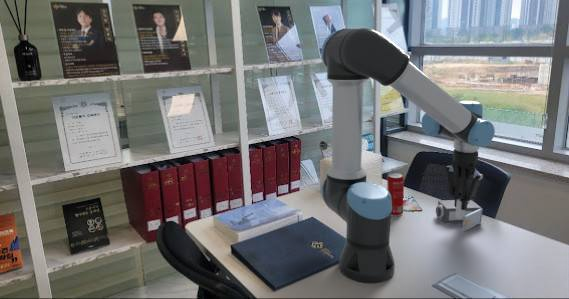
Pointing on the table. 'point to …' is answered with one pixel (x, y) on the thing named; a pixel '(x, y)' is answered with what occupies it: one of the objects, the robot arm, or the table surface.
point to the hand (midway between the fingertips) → (459, 217)
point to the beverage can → (396, 192)
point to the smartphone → (410, 205)
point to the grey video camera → (453, 210)
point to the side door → (472, 219)
